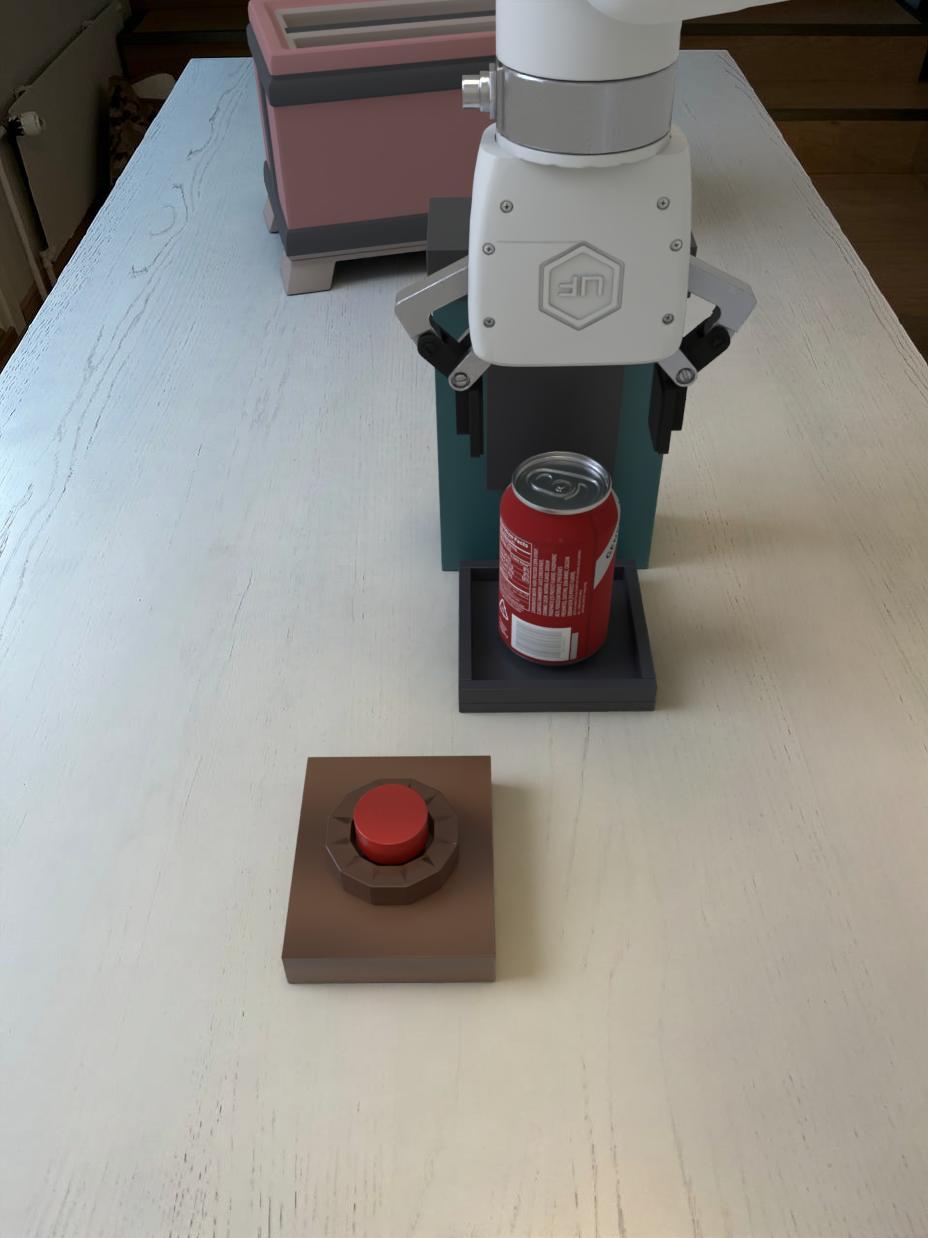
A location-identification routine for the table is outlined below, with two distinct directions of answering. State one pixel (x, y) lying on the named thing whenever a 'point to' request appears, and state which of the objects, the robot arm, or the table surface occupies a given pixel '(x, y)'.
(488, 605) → the tray
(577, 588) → the soda can
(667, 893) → the table surface
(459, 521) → the drinks machine
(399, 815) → the button
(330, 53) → the toaster
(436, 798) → the switch
